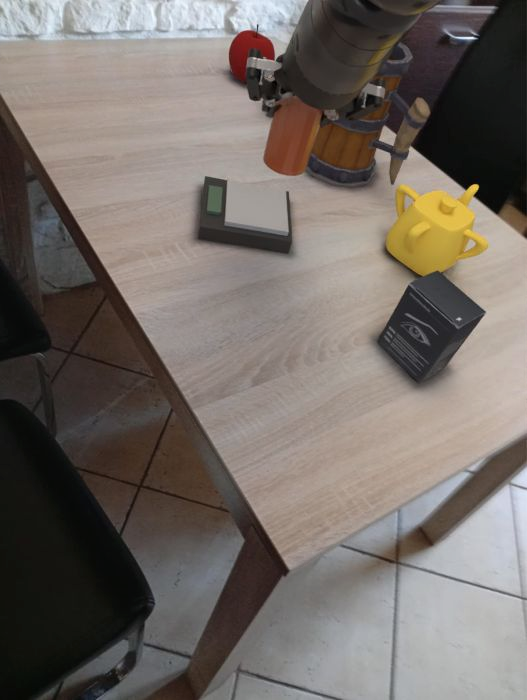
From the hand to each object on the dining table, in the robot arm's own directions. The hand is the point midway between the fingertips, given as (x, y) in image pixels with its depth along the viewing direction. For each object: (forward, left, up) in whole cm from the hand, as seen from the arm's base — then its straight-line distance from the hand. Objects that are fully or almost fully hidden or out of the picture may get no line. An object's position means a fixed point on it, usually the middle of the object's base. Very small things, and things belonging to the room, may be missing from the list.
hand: (295, 113), depth 59 cm
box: (+20, -16, -20) cm, 33 cm away
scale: (-2, +6, -20) cm, 21 cm away
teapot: (+26, +5, -20) cm, 33 cm away
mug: (+16, +25, -20) cm, 36 cm away
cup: (0, -2, -5) cm, 6 cm away
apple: (-2, +52, -20) cm, 56 cm away
